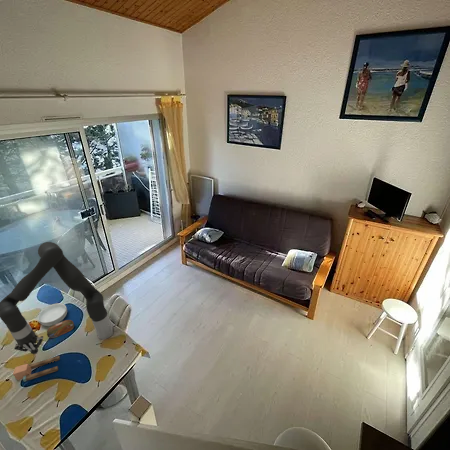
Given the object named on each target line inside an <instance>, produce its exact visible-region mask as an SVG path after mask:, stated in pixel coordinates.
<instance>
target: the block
mask: <svg viewBox="0 0 450 450" xmlns="http://www.w3.org/2000/svg"><path fill="white" fill-rule="evenodd" d="M29 365H30V364H29V363H25V364H21V365H18V366H15V367H14V370H13V372H12V375H13V377H14V378H15V380H17V381H19V380H23V377H24V376H28V375H31V374H32V369H31V367H30V366H29Z"/></svg>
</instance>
